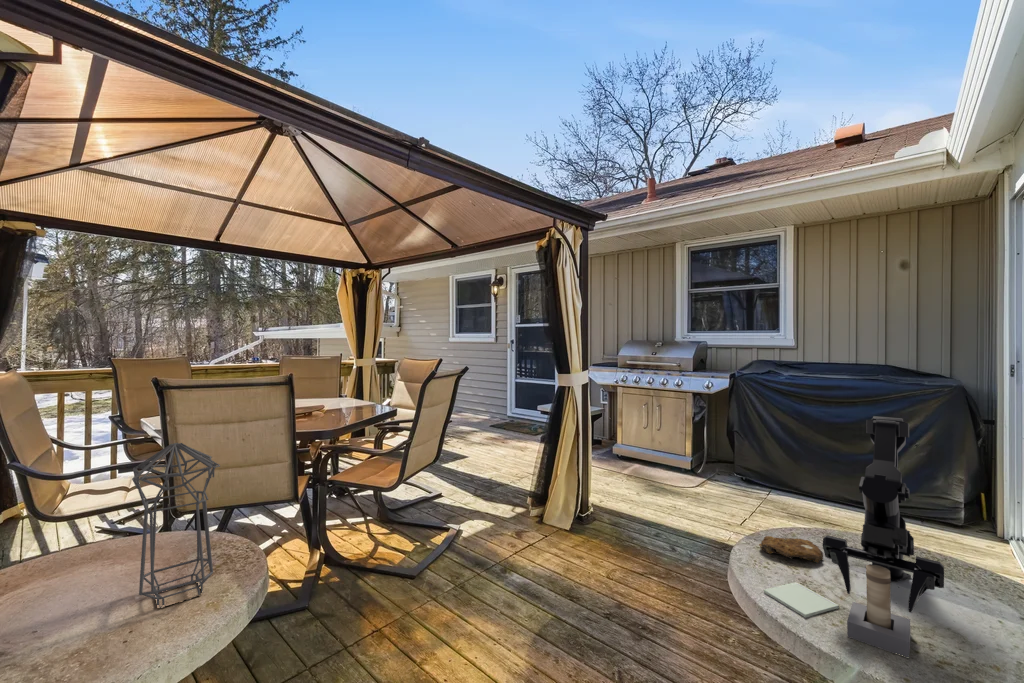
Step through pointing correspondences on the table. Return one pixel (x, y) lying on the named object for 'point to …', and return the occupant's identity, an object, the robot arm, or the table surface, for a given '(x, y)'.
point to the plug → (878, 596)
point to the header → (879, 631)
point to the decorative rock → (791, 548)
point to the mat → (801, 599)
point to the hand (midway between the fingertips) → (878, 602)
